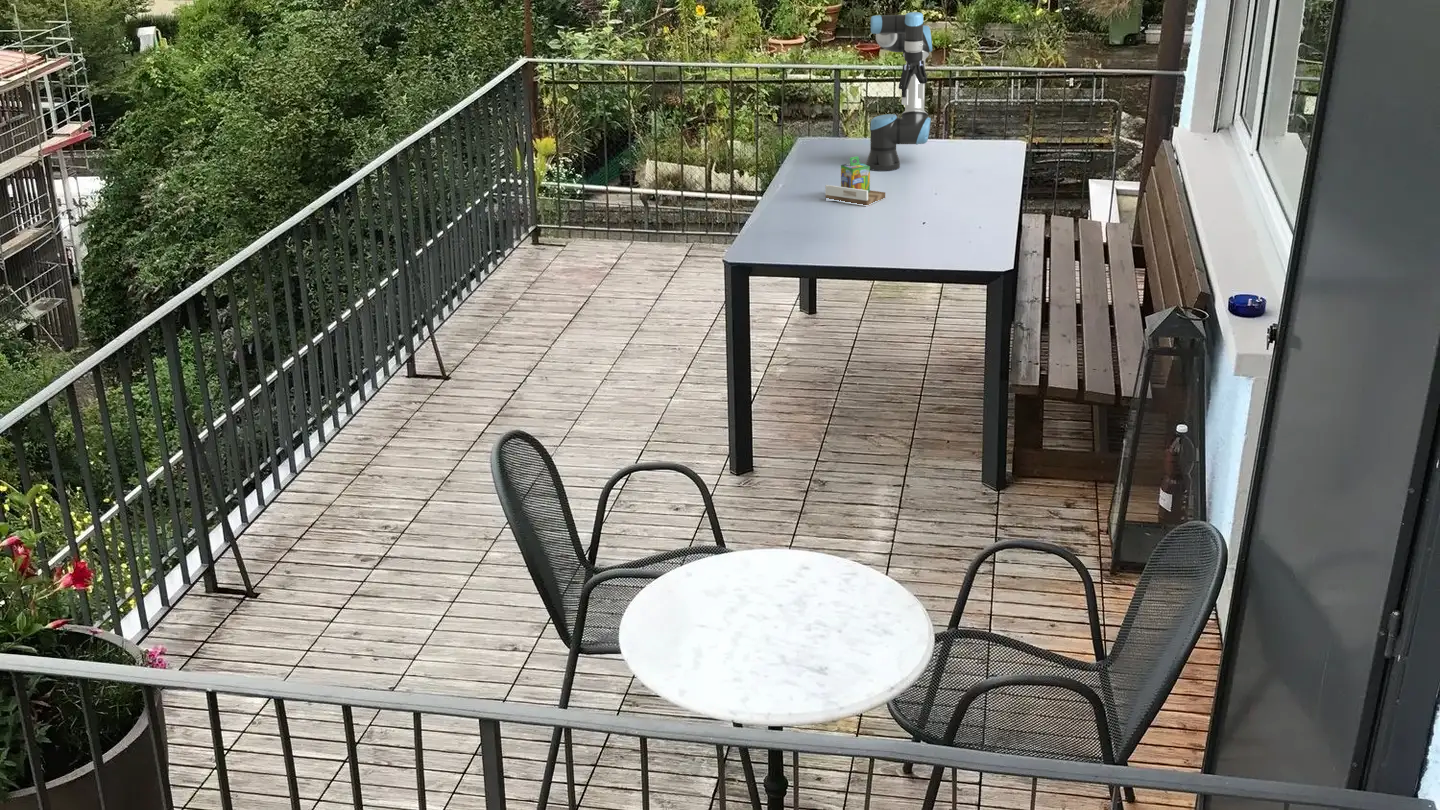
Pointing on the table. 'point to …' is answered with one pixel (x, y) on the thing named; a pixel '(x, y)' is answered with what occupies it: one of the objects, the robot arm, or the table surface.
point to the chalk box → (855, 175)
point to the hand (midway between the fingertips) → (912, 102)
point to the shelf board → (853, 195)
